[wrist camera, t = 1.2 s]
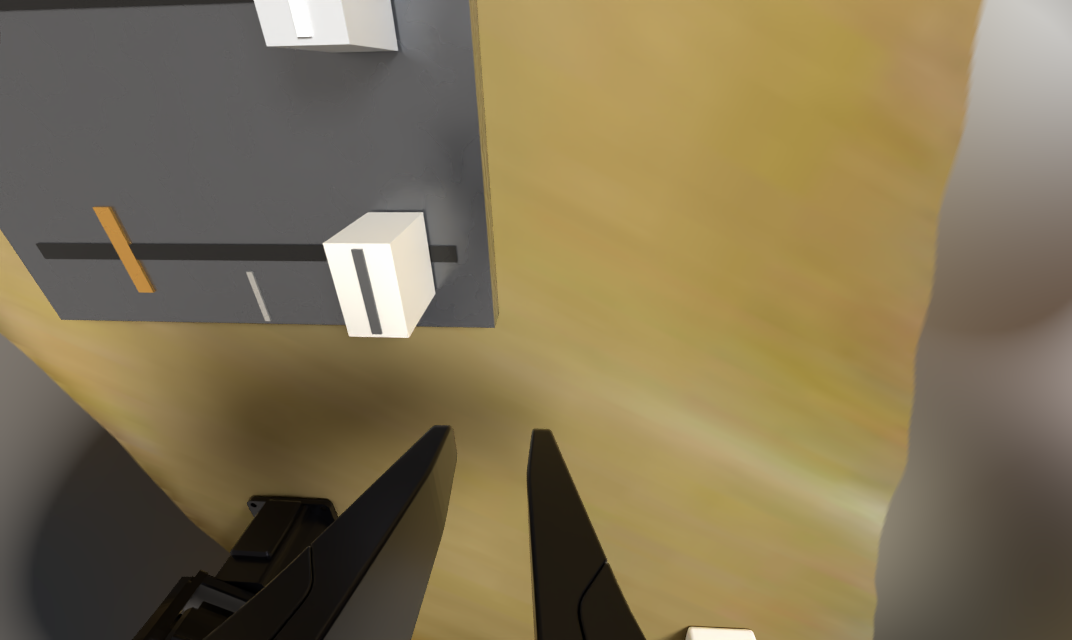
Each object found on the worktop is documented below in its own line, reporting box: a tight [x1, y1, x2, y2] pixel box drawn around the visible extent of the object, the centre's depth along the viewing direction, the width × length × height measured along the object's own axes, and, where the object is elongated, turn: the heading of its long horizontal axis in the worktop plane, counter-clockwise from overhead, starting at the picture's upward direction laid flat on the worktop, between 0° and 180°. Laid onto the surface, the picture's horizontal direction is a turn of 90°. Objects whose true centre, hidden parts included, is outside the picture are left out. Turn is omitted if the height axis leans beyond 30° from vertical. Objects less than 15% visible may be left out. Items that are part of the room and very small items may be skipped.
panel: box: [0, 0, 499, 328], centre depth 18 cm, size 18×24×2 cm
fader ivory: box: [323, 212, 435, 338], centre depth 18 cm, size 4×2×4 cm, turn 1°
